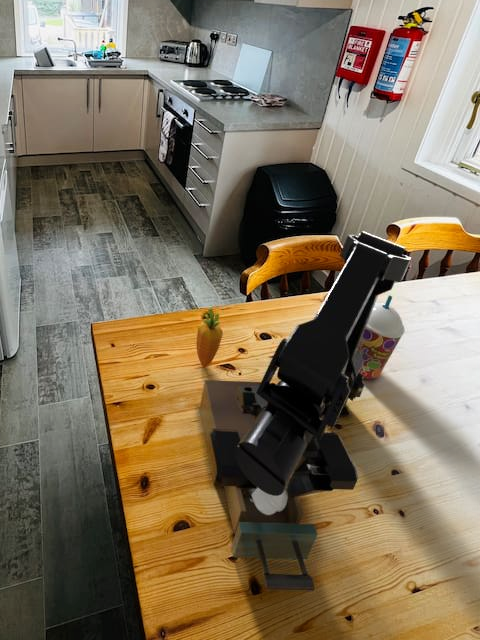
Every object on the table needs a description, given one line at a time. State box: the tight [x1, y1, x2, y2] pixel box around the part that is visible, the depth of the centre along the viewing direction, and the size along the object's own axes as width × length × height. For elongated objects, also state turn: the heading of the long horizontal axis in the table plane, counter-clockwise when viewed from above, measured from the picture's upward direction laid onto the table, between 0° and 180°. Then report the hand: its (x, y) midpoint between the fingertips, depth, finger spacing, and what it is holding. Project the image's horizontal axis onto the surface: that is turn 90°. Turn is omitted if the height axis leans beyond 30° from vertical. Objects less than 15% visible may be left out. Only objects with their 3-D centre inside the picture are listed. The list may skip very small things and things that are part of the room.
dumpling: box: [250, 486, 288, 515], centre depth 57 cm, size 7×5×4 cm
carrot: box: [195, 306, 224, 368], centre depth 82 cm, size 5×5×15 cm
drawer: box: [223, 484, 319, 592], centre depth 57 cm, size 16×10×6 cm, turn 0°
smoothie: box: [358, 294, 406, 380], centre depth 83 cm, size 8×8×20 cm
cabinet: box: [198, 379, 261, 486], centre depth 68 cm, size 13×12×8 cm
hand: (267, 493), depth 57 cm, fingers closed on dumpling, 6 cm apart
